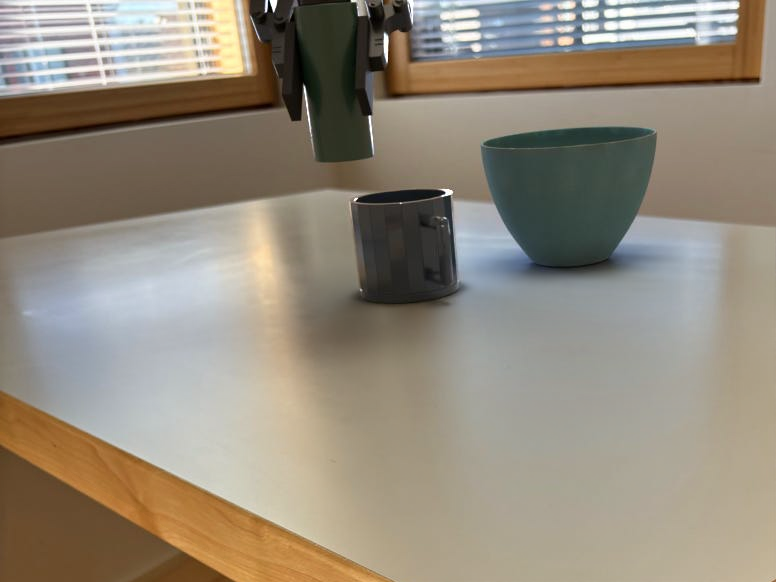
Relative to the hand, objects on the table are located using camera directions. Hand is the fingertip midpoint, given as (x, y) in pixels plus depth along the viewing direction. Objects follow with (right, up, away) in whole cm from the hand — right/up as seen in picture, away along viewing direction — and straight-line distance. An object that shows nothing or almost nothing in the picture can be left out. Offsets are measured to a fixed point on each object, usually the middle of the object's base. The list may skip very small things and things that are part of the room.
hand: (327, 104), depth 77 cm
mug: (+5, -5, +26) cm, 27 cm away
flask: (+1, -2, +5) cm, 6 cm away
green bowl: (+21, +2, +36) cm, 42 cm away
